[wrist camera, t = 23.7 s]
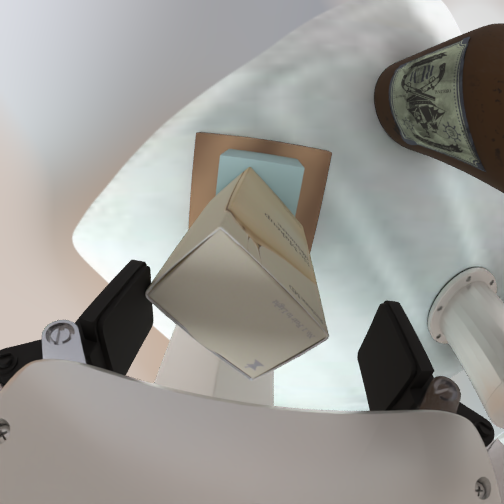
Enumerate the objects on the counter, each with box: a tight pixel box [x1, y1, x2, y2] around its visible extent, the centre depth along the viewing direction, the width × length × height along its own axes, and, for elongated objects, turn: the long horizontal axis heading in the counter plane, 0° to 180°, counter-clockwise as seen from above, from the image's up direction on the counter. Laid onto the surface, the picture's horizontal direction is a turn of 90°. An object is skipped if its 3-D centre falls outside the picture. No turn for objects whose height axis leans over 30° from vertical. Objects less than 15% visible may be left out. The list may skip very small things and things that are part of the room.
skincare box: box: [145, 167, 329, 381], centre depth 16 cm, size 6×4×12 cm
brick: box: [216, 149, 305, 216], centre depth 23 cm, size 6×8×5 cm
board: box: [189, 132, 332, 253], centre depth 26 cm, size 12×10×2 cm
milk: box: [154, 324, 274, 406], centre depth 21 cm, size 6×6×22 cm
